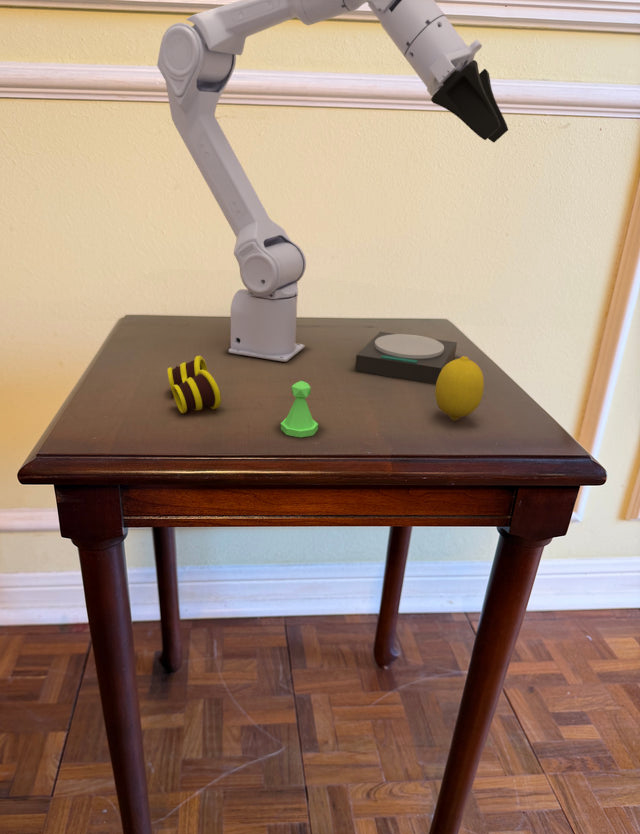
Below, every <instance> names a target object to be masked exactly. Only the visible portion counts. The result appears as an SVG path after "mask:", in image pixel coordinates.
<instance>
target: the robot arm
mask: <svg viewBox="0 0 640 834" xmlns="http://www.w3.org/2000/svg"><path fill="white" fill-rule="evenodd" d="M366 3H368V4H367V6H368V7H369V9H370V10H371V11H372V13H373V14H374V16H375V17H376V18H377V19H378V21H379V22H380V25H381V27H382V29H383V30H384V32H385V33H386V34H387V36H388V37H389V38H390V39H391V41H392V42H393V43H394V45H395V46H396V47H397V49H398V50H399V52H400V53H401V54H402V56H403V57H404V58H405V60H406V61H407V63H408V65H410V67H411V68H412V69H413V71H414V72H415V73H416V74H417V76H418V77H419V79H420V80H421V82H422V83H423V84H424V86H425V87H426V91H427V93H428V94H429V95H430V97H431V98H430V101H431V102H432V103H433V104H435V105H437V106H439V107H441V108H444V109H445V110H447V111H448V112H450V113H451V114H453V115H454V116H456V117H457V118H458V119H459V120H461V121H462V122H463V124H465V125H466V126H467V127H468V128H469V129H470V130H471V131H472V132H473V133H474V134H476V135H477V136H478V137H479V138H481V139H482V140H484V141H486V140H489V141H490V142H492V143H496V142H497V141H498V140H499V139H500V138H501V137H502V136H504V134H506V133H507V132H508V131H509V127H508V124H507V122H506V120H505V118H504V116H503V114H502V111H501V109H500V107H499V105H498V103H497V101H496V99H495V95H494V92H493V89H492V84H491V77H490V73H489V72H488V70H487V69H486V68H484V69H483V70H481V72H480V71H479V63H478V62H477V61H476V60H475V56H476V54H477V53H478V52H479V51H480V50H481V49H482V47H483V46H482V43H481V42H480V41H479V40H478V39H475V40H474V41H472V42H471V43H470V45H467V43H466V41H464V39H463V38H462V37H461V36H460V34H459V32H458V31H457V30H456V28H455V27H454V25H453V24H452V23H451V21H450V20H449V19H448V17H447V16H446V14H445V13H444V12H443V10H442V9H441V8H440V6H439V5H438V4H437V2H436V1H435V0H238V1H237V0H236V1H234V2H231V3H227V4H224V5H220V6H218V7H215V8H212V9H207V10H204V11H200V12H198V13H195V14H192V15H191V16H188V17H187V18H186V21H187V22H191V23H192V24H193V25H192V26H191V25H190V24H189V23H184V22H176V23H174V24H172V25H170V26H169V27H168V28H167V29H166V30H165V32H164V34H163V35H162V38H161V41H160V46H159V52H158V58H157V64H156V66H157V68H158V70H159V72H160V74H161V75H162V78H163V79H164V81H165V86H166V87H165V88H166V92H167V97H168V98H167V99H168V104H169V109H170V116H171V120H172V123H173V125H174V127H175V128H176V130H177V132H178V134H179V136H180V137H181V139H182V141H183V143H184V145H185V146H186V148H187V150H188V152H189V154H190V155H191V158H192V159H193V161H194V163H195V165H196V166H197V169H198V170H199V172H200V175H201V176H202V178H203V179H204V181H205V183H206V185H207V187H208V189H209V190H210V192H211V194H212V195H213V198H214V199H215V201H216V203H217V205H218V207H219V208H220V211H221V212H222V214H223V216H224V217H225V220H226V221H227V223H228V225H229V227H230V229H231V230H232V232H233V234H234V236H235V237H236V240H235V244H234V249H233V255H234V257H235V259H236V261H237V263H238V266H239V275H240V279H241V281H242V284H243V285H244V287H245V288H246V289H244V288H240V289H238V290H237V291H236V292H235V293H234V295H233V297H232V301H231V303H230V348H229V349H228V353H229V354H233V355H240V356H247V357H253V358H259V359H265V360H270V361H278V362H283V363H284V362H285V363H286V362H288V361H290V360H291V359H292V358H294V357H295V355H297V354H298V353H299V352H301V351H302V350H303V349H305V344H302V343H296V341H297V317H298V316H297V315H298V292H299V289H298V283H299V281H300V280H301V279H303V277H304V275H305V272H306V268H307V260H306V255H305V253H304V251H303V250H302V248H301V247H300V246H299V245H298V244H297V243H296V242H294V241H293V240H292V239H290V237H289V236H288V234H287V232H286V230H285V229H284V228H283V227H282V226H280V225H279V224H278V223H276V222H275V221H273V220H272V219H271V218H270V216H269V214H268V212H267V211H266V209H265V206H264V205H263V203H262V201H261V199H260V198H259V196H258V194H257V193H256V190H255V188H254V186H253V184H252V182H251V181H250V179H249V177H248V176H247V174H246V171H245V170H244V168H243V166H242V164H241V163H240V161H239V159H238V157H237V155H236V153H235V151H234V149H233V147H232V146H231V144H230V142H229V140H228V138H227V136H226V134H225V133H224V130H223V129H222V127H221V125H220V122H218V120H217V118H216V115H215V114H216V110H217V106H218V103H219V100H220V99H221V97H222V95H223V93H224V91H225V89H226V87H227V85H228V83H229V81H230V80H231V78H232V76H233V73H234V70H235V68H236V64H237V63H236V62H237V56H242V55H243V52H244V48H245V43H246V39H247V38H248V37H250V36H253V35H255V34H257V33H260V32H262V31H263V32H264V31H265V30H268V29H270V28H273V27H275V26H277V25H280V24H283V23H285V22H287V21H290V20H293V19H295V18H297V20H299V21H300V22H301V23H302V24H304V25H305V26H312V25H314V24H317V23H320V22H324V21H327V20H330V19H332V18H335V17H338V16H339V17H340V16H342V15H344V14H348V13H350V12H351V13H352V12H353V11H357V10H358V9H360V7H362V6H363V5H364V4H366Z"/></svg>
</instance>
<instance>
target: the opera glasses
mask: <svg viewBox="0 0 640 834" xmlns="http://www.w3.org/2000/svg"><path fill="white" fill-rule="evenodd" d="M167 378H168V383H169V387H170V390H171V393H172V395H173V399H174V403H175V404H176V406H177V408H178V410H179V412H180V413H181V414H185V413H187V411H190V412H192V411H193V410H194V411H201V410H202V409H204V408H205V409H207V408H210V409H211V410H217V409H219V408H220V406H221V404H222V403H221V402H222V397H221V392H220V388H219V386H218V384H217V382H216V379H214V377H213V376H212V375H211V373H210V372H209V371H208V367H207V364H206V361H205V359H204V357H202V355H196V356H195V358H194V359H193V360H191V361H189V362H187V361H184V362H182V363H180V364H179V366H178V365H176V366H175V367H174V368H173V367H171V366H170V367H167Z"/></svg>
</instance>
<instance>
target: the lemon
mask: <svg viewBox="0 0 640 834" xmlns="http://www.w3.org/2000/svg"><path fill="white" fill-rule="evenodd" d="M482 371H483V370H482V369H481V368H480V367H479V365H478V364H477V363H476V362H474V361H473V360H471V359H469V357H468V356H466V355H463V356H461V357H460V358H454V359H453V361H451V362H449V363H448V364H446V365H445V366H444V367H443V369H442V370H441V372H440V374H439V376H438V379H437V382H436V384H435V388H434V389H435V390H434V395H435V401H436V405H437V406H438V408H439V409H440V410H441V412H443V413H444V414H445V415H447V416H449V418H450V419H451V420H452V421H458V420H459V419H460V418H463V417H466V416H470V414H472V413H473V412H474V411H475V410H477V408H478V407H479V405H480V403H481V401H482V399H483V395H484V388H485V381H484V379H485V378H484V374H483V372H482Z"/></svg>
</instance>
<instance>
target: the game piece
mask: <svg viewBox="0 0 640 834" xmlns="http://www.w3.org/2000/svg"><path fill="white" fill-rule="evenodd" d="M311 389H312V387H311V386H310V384H309V383H308V382H306V381H303V380H300V381H296V382H295V383H294V384H293V385H291V393H292V395H293V397H294V398H295V399H294V401H293V403H292V405H291V408H290V410H289V412H288V414H287V416H286V417H285V418H284V419H283V421H281V422H280V430H281V432H283V433H284V434H285V435H286V436H290V437H294V438H295V437H296V438H306V437H311V436H315V434H316V433H317V432H318V430H319V423H318V422H317V421H315V420H314V419H313V417H312V413H311V412H310V408H309V405H308V402H307V400H306V398H307V397H309V396H310V395H311V394H312V390H311Z"/></svg>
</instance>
